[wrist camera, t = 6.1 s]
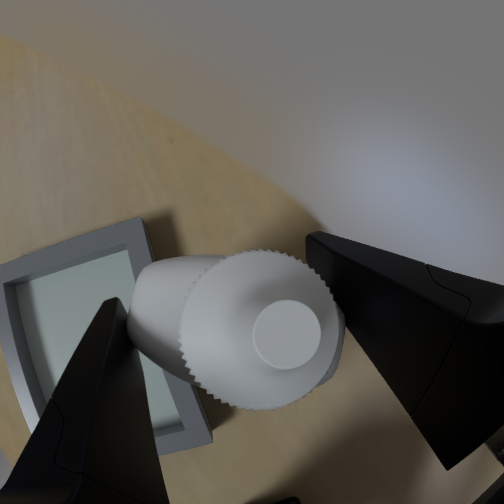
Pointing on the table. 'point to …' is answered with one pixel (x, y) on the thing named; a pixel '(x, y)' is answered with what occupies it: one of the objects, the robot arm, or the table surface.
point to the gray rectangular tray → (86, 325)
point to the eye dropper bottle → (239, 325)
